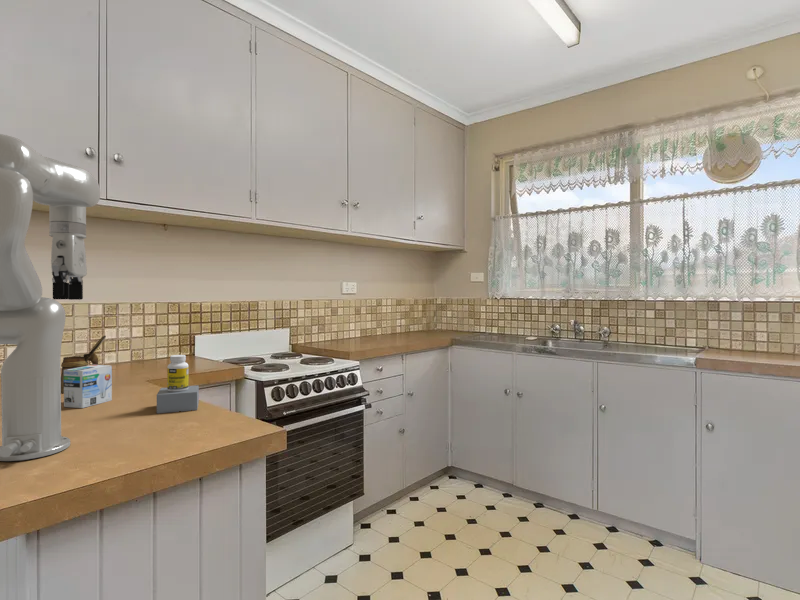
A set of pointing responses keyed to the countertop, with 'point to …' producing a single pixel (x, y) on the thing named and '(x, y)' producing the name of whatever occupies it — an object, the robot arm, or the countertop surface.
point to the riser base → (178, 400)
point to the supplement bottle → (177, 374)
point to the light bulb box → (87, 386)
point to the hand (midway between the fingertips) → (68, 299)
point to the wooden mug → (79, 361)
